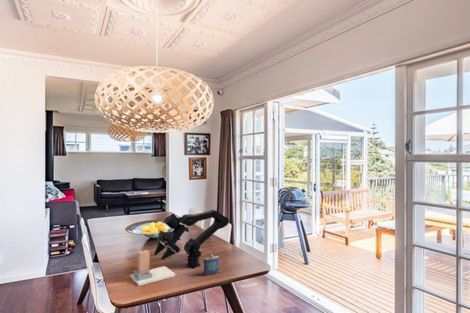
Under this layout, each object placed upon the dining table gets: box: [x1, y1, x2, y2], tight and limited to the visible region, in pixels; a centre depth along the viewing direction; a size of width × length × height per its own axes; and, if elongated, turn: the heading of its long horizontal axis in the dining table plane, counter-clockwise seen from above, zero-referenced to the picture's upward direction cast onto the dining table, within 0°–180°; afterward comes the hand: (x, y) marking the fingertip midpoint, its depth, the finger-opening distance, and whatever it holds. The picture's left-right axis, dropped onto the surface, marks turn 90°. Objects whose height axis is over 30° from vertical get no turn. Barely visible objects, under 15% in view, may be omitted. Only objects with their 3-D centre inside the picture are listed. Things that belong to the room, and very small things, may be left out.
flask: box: [203, 254, 220, 277], centre depth 162 cm, size 9×3×11 cm, turn 122°
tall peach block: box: [136, 249, 151, 276], centre depth 155 cm, size 5×4×13 cm
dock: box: [129, 265, 176, 286], centre depth 158 cm, size 20×13×4 cm, turn 128°
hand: (157, 257), depth 160 cm, fingers open, 9 cm apart
